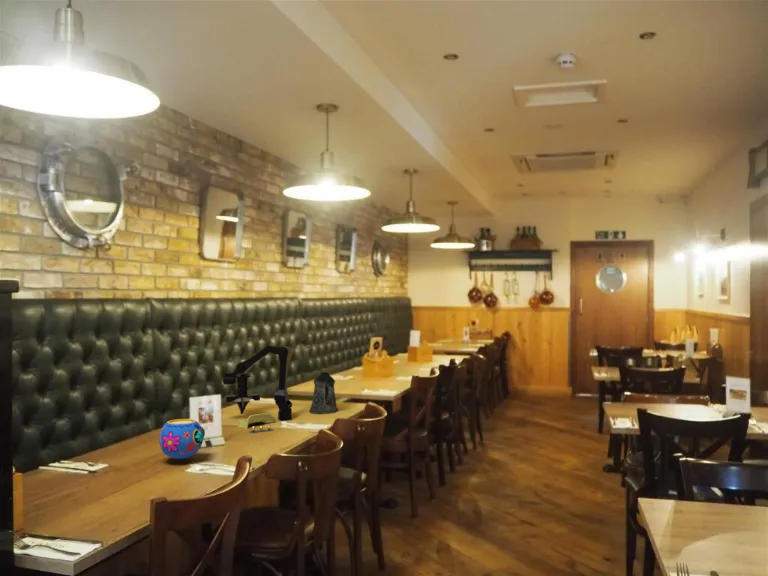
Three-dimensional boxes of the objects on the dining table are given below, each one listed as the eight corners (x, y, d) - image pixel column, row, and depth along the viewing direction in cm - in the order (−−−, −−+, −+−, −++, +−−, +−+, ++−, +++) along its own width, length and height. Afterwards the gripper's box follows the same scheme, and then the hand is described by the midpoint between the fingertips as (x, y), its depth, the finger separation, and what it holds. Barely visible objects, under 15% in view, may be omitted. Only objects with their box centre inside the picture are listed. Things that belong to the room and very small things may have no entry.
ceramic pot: (200, 462, 261) (201, 424, 261) (154, 463, 258) (155, 425, 258) (205, 452, 278) (206, 417, 278) (162, 453, 275) (163, 417, 275)
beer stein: (322, 413, 383) (323, 370, 383) (347, 416, 371) (348, 373, 372) (303, 416, 369) (304, 372, 370) (329, 420, 358) (329, 375, 359)
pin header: (272, 431, 326) (272, 424, 326) (273, 432, 323) (273, 425, 324) (248, 433, 320) (248, 426, 320) (250, 434, 318) (250, 427, 318)
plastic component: (236, 425, 337) (247, 430, 330) (237, 411, 337) (248, 416, 330) (268, 420, 351) (279, 424, 344) (268, 406, 351) (280, 411, 344)
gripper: (254, 383, 366) (254, 410, 366) (221, 384, 357) (221, 412, 357) (260, 385, 356) (260, 413, 356) (226, 386, 347) (226, 415, 347)
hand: (241, 413), depth 354 cm, fingers closed
